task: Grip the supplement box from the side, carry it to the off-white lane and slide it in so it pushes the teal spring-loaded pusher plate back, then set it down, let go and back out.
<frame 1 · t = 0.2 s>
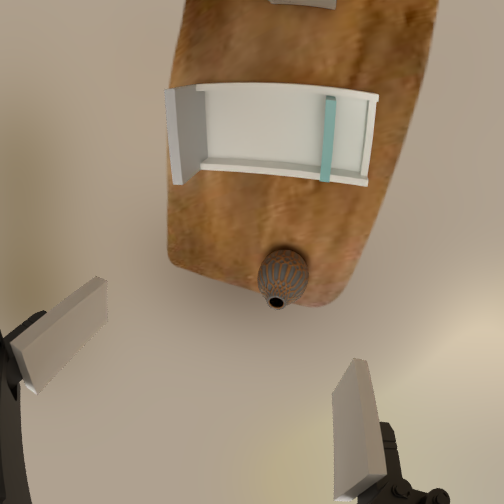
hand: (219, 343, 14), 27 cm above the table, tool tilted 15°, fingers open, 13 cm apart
vase: (287, 261, 43), on the table
lane: (281, 125, 32), on the table
pusher: (328, 136, 28), point 4 cm above the table, slide at 0.0 cm
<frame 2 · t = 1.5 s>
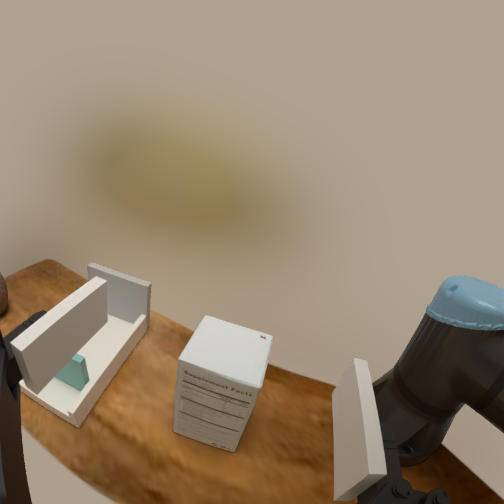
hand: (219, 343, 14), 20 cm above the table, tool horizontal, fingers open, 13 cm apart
supplement box: (211, 421, 30), on the table
lane: (85, 355, 33), on the table
pusher: (58, 361, 27), point 4 cm above the table, slide at 0.0 cm
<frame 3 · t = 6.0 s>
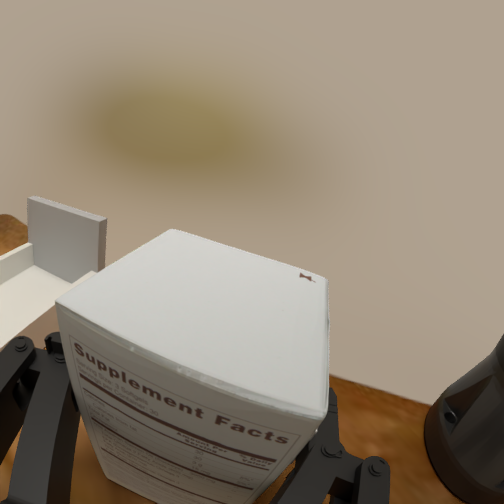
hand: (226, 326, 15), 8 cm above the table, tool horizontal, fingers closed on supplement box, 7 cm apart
supplement box: (184, 464, 14), on the table, touching gripper
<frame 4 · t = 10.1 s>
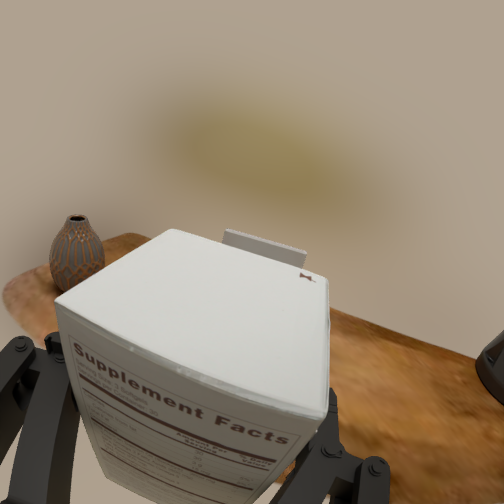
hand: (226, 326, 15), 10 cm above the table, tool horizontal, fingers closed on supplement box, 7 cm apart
vase: (78, 288, 31), on the table
supplement box: (184, 464, 14), point 3 cm above the table, touching gripper
lane: (235, 337, 31), on the table
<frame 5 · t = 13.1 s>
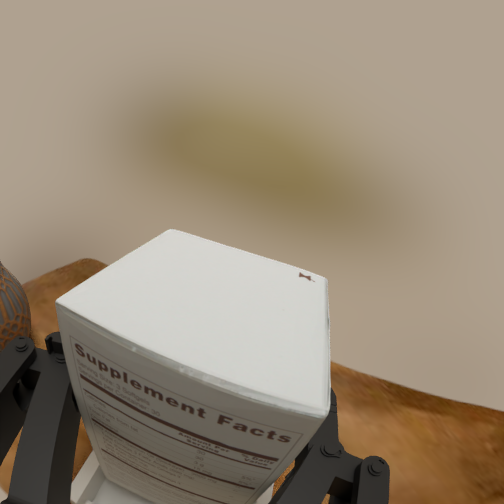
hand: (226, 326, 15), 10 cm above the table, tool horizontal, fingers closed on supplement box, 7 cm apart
vase: (6, 345, 19), on the table
supplement box: (184, 464, 14), point 3 cm above the table, touching gripper, pusher
lane: (202, 430, 19), on the table
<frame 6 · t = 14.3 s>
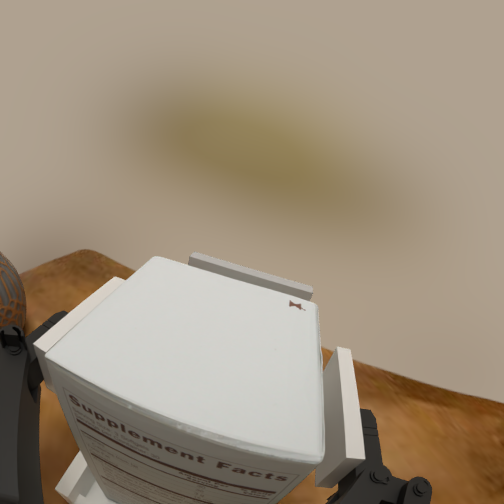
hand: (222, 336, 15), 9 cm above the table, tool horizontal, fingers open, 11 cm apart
vase: (0, 334, 18), on the table
supplement box: (181, 479, 13), resting on lane, pusher
lane: (202, 422, 18), on the table
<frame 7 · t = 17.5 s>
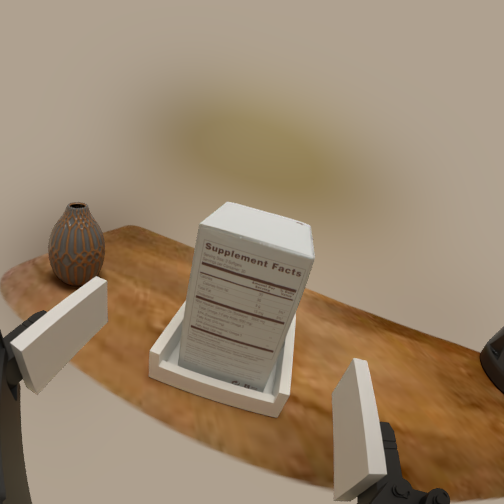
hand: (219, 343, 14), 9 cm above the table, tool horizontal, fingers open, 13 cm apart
vase: (77, 278, 30), on the table
supplement box: (227, 358, 25), resting on lane, pusher
lane: (238, 327, 30), on the table
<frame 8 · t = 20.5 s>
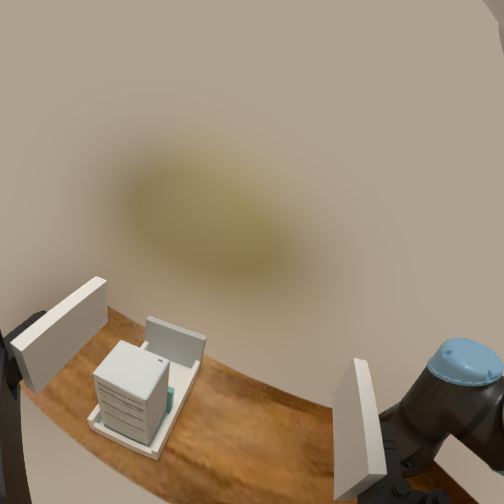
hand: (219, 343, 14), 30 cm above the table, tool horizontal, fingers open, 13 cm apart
supplement box: (135, 422, 35), resting on lane, pusher
lane: (150, 397, 41), on the table
pusher: (146, 391, 38), point 4 cm above the table, slide at 3.9 cm, touching supplement box
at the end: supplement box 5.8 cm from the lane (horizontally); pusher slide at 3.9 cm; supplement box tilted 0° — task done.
